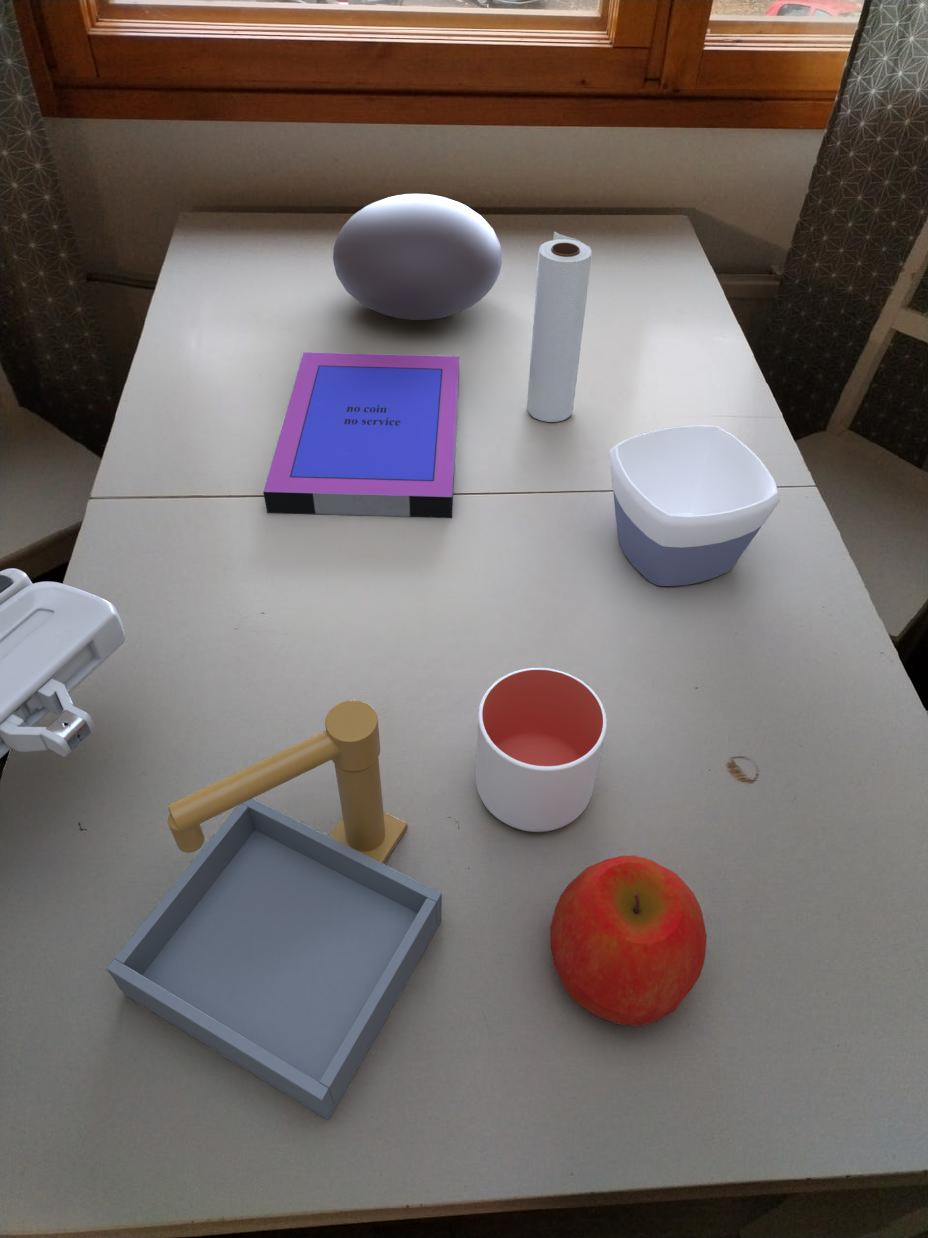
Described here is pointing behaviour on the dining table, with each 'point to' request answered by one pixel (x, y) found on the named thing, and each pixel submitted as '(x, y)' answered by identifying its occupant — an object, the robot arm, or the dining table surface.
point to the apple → (628, 940)
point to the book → (368, 437)
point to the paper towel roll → (557, 327)
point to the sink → (281, 952)
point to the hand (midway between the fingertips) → (79, 736)
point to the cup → (538, 748)
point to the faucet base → (366, 815)
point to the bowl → (688, 501)
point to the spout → (281, 770)
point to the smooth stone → (417, 256)
